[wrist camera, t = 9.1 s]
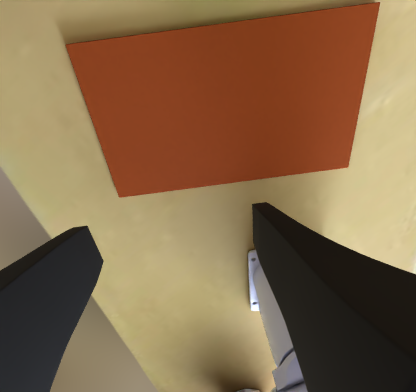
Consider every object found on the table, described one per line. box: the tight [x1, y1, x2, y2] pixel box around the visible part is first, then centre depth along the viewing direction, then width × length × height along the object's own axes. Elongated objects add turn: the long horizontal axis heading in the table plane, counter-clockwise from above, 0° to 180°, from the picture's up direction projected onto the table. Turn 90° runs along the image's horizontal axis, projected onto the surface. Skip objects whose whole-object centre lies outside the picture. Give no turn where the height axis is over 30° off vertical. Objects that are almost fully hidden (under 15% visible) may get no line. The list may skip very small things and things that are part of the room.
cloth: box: [66, 2, 380, 198], centre depth 16 cm, size 11×20×1 cm, turn 97°
